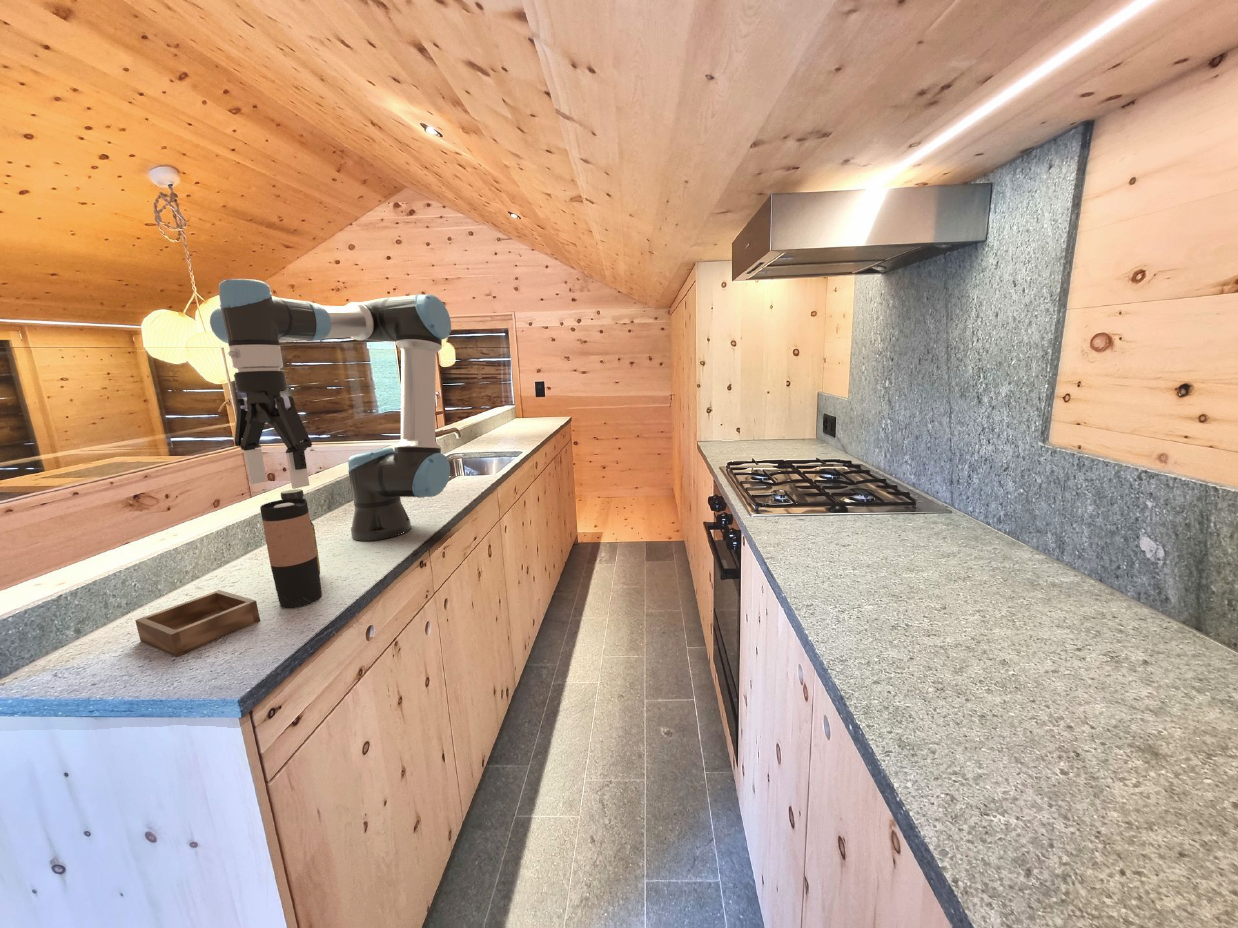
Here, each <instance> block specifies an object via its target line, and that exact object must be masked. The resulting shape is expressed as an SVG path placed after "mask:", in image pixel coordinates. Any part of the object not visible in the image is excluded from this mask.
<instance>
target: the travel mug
mask: <svg viewBox="0 0 1238 928" xmlns="http://www.w3.org/2000/svg"><path fill="white" fill-rule="evenodd" d="M259 510H260V516H261V521H262V525H263V532H264V536H265V537H264V538H265V543H266V548H267V554H268V559H269V563H270V570H271V573H272V577H273V583H274V586H275V591H276V594H277V598H278V602H279V606H280V608H282V609H286V610H287V609H290V610H291V609H299V608H302V607H306V606H309V605H311V604H314V603H316V602H318V601H319V600H320V599H322V596H323V593H322V591H323V590H322V585H321V584H322V583H321V577H320V576H321V575H320V576H319V568H318V561H317V554H316V548H315V543H314V538H313V532H312V527H311V522H312V521H311V522H310V520H311V518H310V512H309V505H308V501H307V499H306V498H304V497H303V498H291V499H283V500H282V499H278V500H274V501H269V502H266V503H264V504H261V506H260V508H259Z"/></svg>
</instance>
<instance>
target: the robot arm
mask: <svg viewBox="0 0 1238 928" xmlns="http://www.w3.org/2000/svg"><path fill="white" fill-rule="evenodd" d="M271 291H272V290H271V287H270V285H269V284H268V283H267V282H264V281H262V280H258V279H257V280H256V279H249V278H248V279H247V278H229V279H224V280H222V281H221V282H220V283H219V284H218V295H219V307H218V308H216V309H214V310H213V312H212V313H211V314H210V316H209V324H210V329H211V331H212V332H213V334H214V335H215V337H216V338H217V339H219V340H220V341H221V342H224V343H226V344H228V349H229V351H228V353H227V354H228V357H230V359H231V365H232V368H233V369H234V370H237V371H236V372H235V373H234V374H233V377H234V383H235V388H236V392H238V394H245V395H246V397H238V398H236V400H235V401H236V410H237V411H236V412H237V413H236V421H235V422H236V423H235V432H234V445H235V447H240V449H241V451H243V455H244V461H245V464H246V470H247V471H246V472H247V476H248V481H249V485H255V484H260V483H265V482H267V481H268V480H267V475H266V469H265V462H264V457H263V451H262V445H261V444H260V440H261V437H262V434H263V432H264V428H265V425H266V423H267V424H268V425H272V427H273V429H274V430H275V431H276V433H277V435H278V436H279V438H280V439H281V441H282V442H283V444H284V445H285V446H286V450H285V453H286V459H287V466H288V470H289V477H290V483H291V488H292V490H295V489H299V488H300V489H301V488H304V487H309V486H310V480H309V474H308V468H307V466H308V465H307V461H306V460H307V459H306V454H305V452H306V451H307V449H308V448H312V447H313V442H312V440H311V438H310V436H309V434H308V432H307V430H306V427H305V425H304V423H303V421H302V419H301V417H300V414H299V413H298V411H297V409H296V404H295V399H294V397H293V396H292V395H289V396H286V395H285V396H284V395H283V396H281V392H285V391H287V387H288V386H287V382H286V376H285V375H286V374H285V372H283V370H281V369H282V368H283V367H284V361H283V356H282V350H281V343H280V342H287V341H289V342H290V341H307V342H310V341H311V342H312V341H321V340H324V339H338V338H351V339H353V340H355V341H376V342H377V341H378V342H390V343H391V342H394V343H395V346H396V347H397V348H398V349H399V350H400V352H401V358H400V359H401V362H400V363H401V368H400V369H401V370H400V371H401V372H400V380H401V381H400V441H399V442H398V443H396V444H395V445H394V446H393V447H394V448H391V447H388V448H387V447H386V448H382V449H376V450H375V449H374V450H370V451H365V452H362V453H357V454H353V455H351V456H350V457H349V458H348V460H347V465H348V471H347V472H348V476H349V481H350V488H351V494H352V501H353V505H354V506H353V507H354V511H353V512H354V513H353V516H352V517H353V518H352V524H351V527H350V534H351V538H352V539H353V540H355V541H363V542H364V541H365V542H366V541H368V542H369V541H372V542H373V541H379V540H380V541H381V540H385V538H386V539H390V538H393V537H392V536H394V537H397V536H396V535H398V534H400V535H402V534H401V533H403V532H405V533H407V532H409V531H410V530H411V529H412V525H411V520H410V517H409V515H408V514H407V511H406V510H405V508H404V506H403V504H402V500H401V498H418V499H424V498H432V497H436V496H438V495H439V494H441V493H442V492H443V491H444V490H445V488H446V486H447V485H448V482H449V479H450V477H451V476H450V475H451V466H450V465H451V464H450V462H449V460H448V457H447V456H446V455H444V454H443V453H442V448H441V446H440V445H439V444H438V443H437V442H436V380H437V379H436V377H437V376H436V375H437V374H436V371H437V369H436V366H437V364H436V363H437V357H436V356H437V353H438V352H439V351H441V350H442V346H443V345H442V344H443V342H442V341H443V340H445V339H447V338H449V336H450V335H451V333H452V320H451V316H450V314H449V310H448V309H447V307H446V305H445V304H444V303H443V301H442V300H441V299H440V298H439V297H437V296H435V295H433V294H429V293H428V294H421V293H417V294H413V295H402V296H392V297H383V298H377V299H373V300H368V301H362V302H361V301H360V302H357V301H356V302H355V301H353V302H349V303H347V304H346V305H344V306H343V305H341V306H339V305H337V306H336V305H332V306H331V305H321V304H319V303H316V302H311V301H309V300H298V299H290V298H285V297H284V298H283V297H276V296H273V292H271ZM410 528H411V529H410ZM409 529H410V530H409ZM406 531H407V532H406ZM403 534H404V533H403ZM398 536H399V535H398ZM389 537H390V538H389Z"/></svg>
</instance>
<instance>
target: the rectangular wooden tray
mask: <svg viewBox="0 0 1238 928" xmlns="http://www.w3.org/2000/svg"><path fill="white" fill-rule="evenodd" d="M260 621H261V619H260V612H259V607H258V603H257V600H256V599H252V598H248V597H245V596H242V595H239V594H235V593H232V592H227V591H225V590H222V589H221V590H220V589H218V590H216V591H212V592H209V593H207V594H205V595H201V596H198V597H196V598H192V599H190V600H188V601H184V602H182V603H179V604H175V605H173V606H171V607H167V608H165V609H162V610H160V611H157V612H154V613H152V614H148V615H146V616H143V617H140V618H137V619H135V620H134V622H135V625H136V629H137V632H138V636H139V640H140V642H141V643H143V644H145V645H147V646H150V647H152V648H155V649H157V650H159V651H161V652H164V653H166V654H169V655H170V656H173V657H175V658H178V657H180V656H183V655H185V654H187V653H190V652H192V651H195V650H197V649H199V648H202V647H203V646H207V645H209V644H212V643H213V642H215V641H217V640H220V639H222V638H225V637H226V636H228V635H231V634H233V633H236V632H239V631H240V630H242V629H245V628H248V627H250V626H252V625H254V624H256V623H258V622H260Z"/></svg>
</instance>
